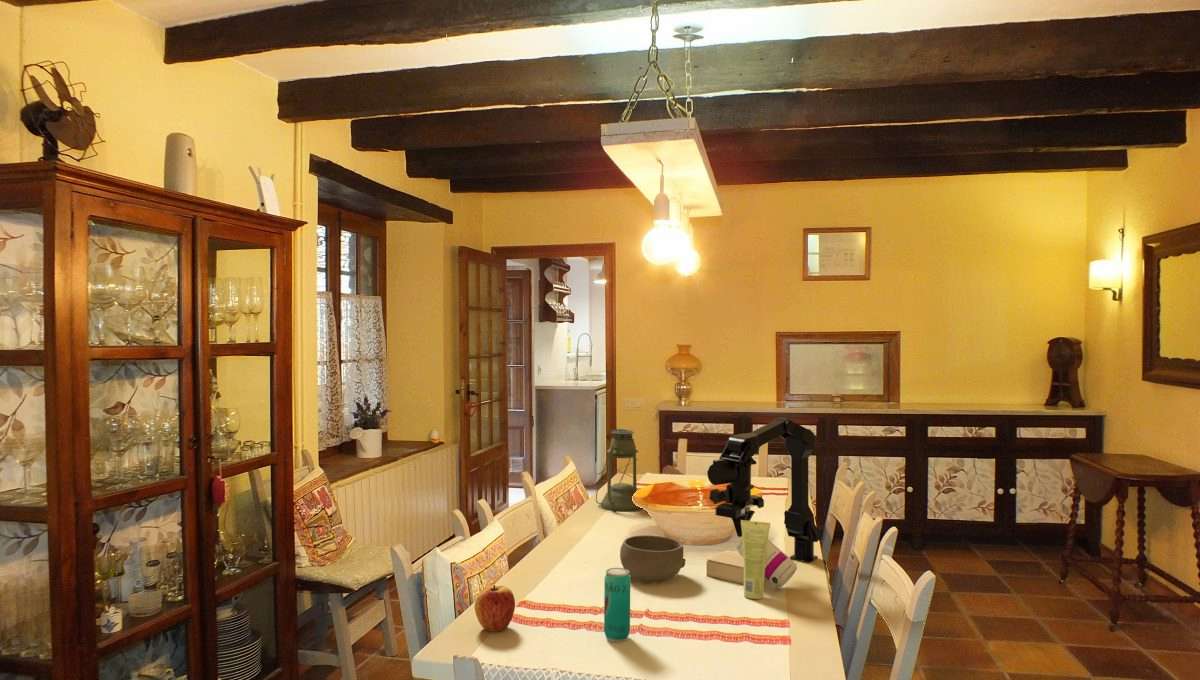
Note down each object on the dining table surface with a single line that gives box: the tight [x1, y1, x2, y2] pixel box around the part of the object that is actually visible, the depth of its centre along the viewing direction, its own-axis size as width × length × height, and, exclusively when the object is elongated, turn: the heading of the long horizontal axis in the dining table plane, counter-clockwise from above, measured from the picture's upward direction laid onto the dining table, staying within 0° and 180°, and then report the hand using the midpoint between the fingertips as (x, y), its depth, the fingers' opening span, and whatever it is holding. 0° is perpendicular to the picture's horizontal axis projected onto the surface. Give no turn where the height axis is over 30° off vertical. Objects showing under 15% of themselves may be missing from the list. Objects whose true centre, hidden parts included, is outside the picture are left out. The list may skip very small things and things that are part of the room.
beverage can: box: [603, 567, 631, 643], centre depth 169 cm, size 6×6×15 cm
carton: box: [705, 553, 767, 585], centre depth 214 cm, size 12×14×5 cm
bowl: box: [619, 534, 686, 584], centre depth 211 cm, size 17×18×10 cm
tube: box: [741, 520, 771, 600], centre depth 197 cm, size 6×5×20 cm
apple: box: [474, 584, 516, 632], centre depth 174 cm, size 9×9×10 cm
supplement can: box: [736, 538, 798, 589], centre depth 205 cm, size 8×8×15 cm
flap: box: [719, 549, 743, 559], centre depth 217 cm, size 5×14×1 cm, turn 53°
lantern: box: [595, 428, 642, 513], centre depth 297 cm, size 21×18×30 cm
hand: (739, 536), depth 214 cm, fingers closed
